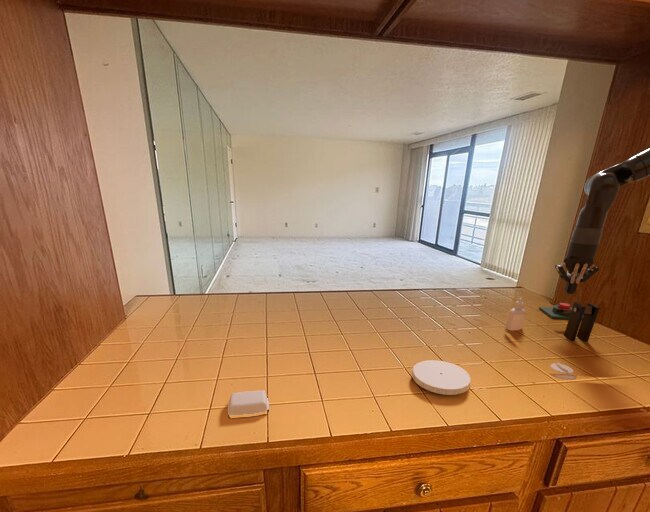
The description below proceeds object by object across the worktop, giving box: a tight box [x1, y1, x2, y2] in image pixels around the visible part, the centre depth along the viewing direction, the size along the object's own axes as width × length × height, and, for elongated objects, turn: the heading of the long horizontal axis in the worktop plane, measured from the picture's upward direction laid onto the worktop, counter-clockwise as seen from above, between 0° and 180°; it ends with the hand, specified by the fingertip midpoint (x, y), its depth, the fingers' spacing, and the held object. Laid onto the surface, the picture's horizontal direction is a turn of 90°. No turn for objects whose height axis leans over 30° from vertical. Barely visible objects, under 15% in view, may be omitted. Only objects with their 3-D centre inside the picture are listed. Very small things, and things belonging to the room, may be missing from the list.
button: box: [558, 302, 571, 309], centre depth 130 cm, size 4×4×2 cm
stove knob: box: [549, 362, 578, 381], centre depth 93 cm, size 7×7×2 cm
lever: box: [555, 305, 592, 315], centre depth 113 cm, size 13×5×2 cm, turn 175°
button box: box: [538, 304, 583, 321], centre depth 131 cm, size 12×10×4 cm
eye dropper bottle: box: [504, 297, 527, 334], centre depth 116 cm, size 4×6×12 cm
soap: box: [227, 389, 270, 416], centre depth 76 cm, size 9×7×3 cm
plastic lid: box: [411, 359, 472, 396], centre depth 88 cm, size 14×14×2 cm
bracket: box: [563, 301, 600, 343], centre depth 109 cm, size 10×8×13 cm
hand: (569, 293), depth 116 cm, fingers closed
